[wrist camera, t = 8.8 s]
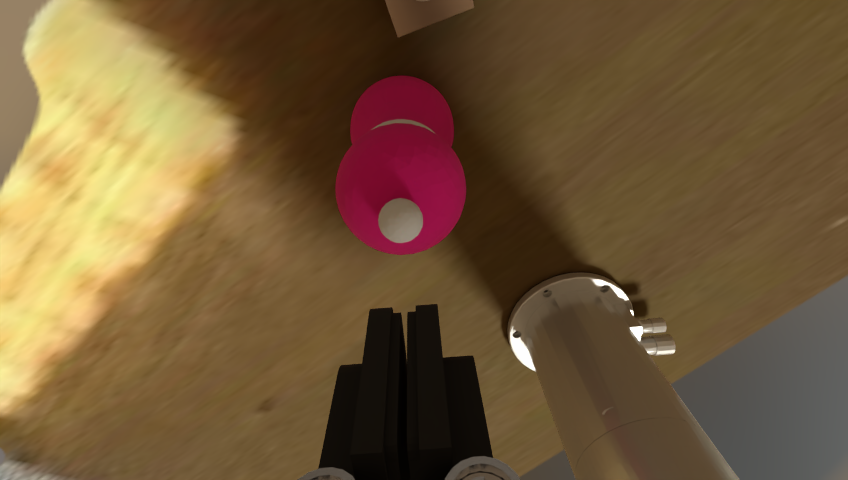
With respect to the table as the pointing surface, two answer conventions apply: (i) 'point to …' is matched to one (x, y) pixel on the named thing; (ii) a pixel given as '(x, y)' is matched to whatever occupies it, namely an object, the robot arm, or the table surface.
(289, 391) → the table surface
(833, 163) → the table surface
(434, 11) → the walnut block
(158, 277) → the table surface
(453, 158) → the pepper mill
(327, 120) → the table surface
